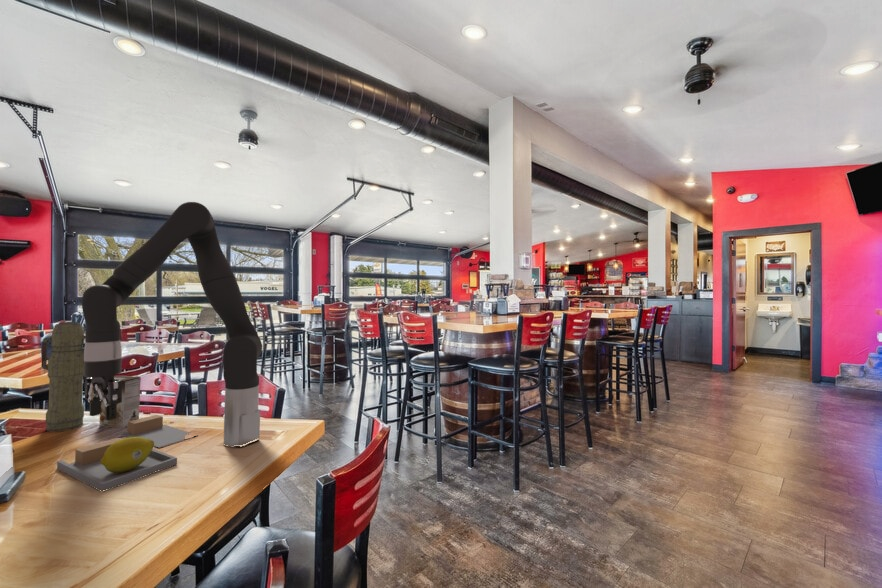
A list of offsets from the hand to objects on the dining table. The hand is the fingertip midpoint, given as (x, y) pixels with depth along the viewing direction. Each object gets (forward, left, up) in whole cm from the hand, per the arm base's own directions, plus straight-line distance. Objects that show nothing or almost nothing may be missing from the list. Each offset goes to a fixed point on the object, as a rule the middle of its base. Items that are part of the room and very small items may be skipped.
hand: (102, 417), depth 98 cm
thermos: (+40, -5, -12) cm, 42 cm away
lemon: (-14, 0, -11) cm, 18 cm away
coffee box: (+28, -15, -12) cm, 34 cm away
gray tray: (-9, 0, -11) cm, 14 cm away
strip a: (+5, -16, -11) cm, 21 cm away
